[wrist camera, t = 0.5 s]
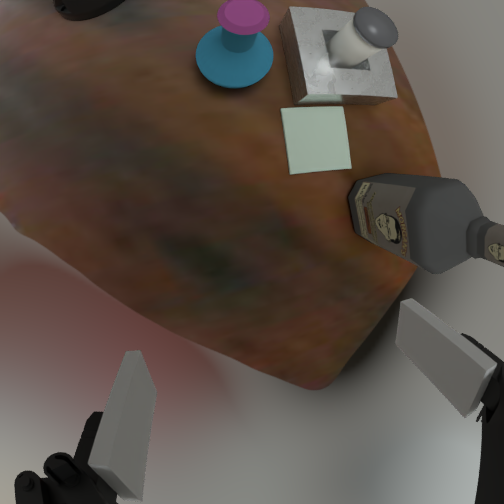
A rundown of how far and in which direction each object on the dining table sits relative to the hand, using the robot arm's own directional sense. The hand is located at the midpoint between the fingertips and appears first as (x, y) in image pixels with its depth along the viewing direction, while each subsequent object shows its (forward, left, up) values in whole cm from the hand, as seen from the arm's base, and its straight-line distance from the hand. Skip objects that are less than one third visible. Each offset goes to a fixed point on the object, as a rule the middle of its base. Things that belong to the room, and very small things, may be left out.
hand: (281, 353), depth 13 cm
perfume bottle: (-23, +3, -27) cm, 36 cm away
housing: (-23, +17, -27) cm, 39 cm away
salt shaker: (-23, +17, -25) cm, 38 cm away
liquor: (-1, +21, -27) cm, 34 cm away
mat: (-11, +13, -27) cm, 32 cm away
